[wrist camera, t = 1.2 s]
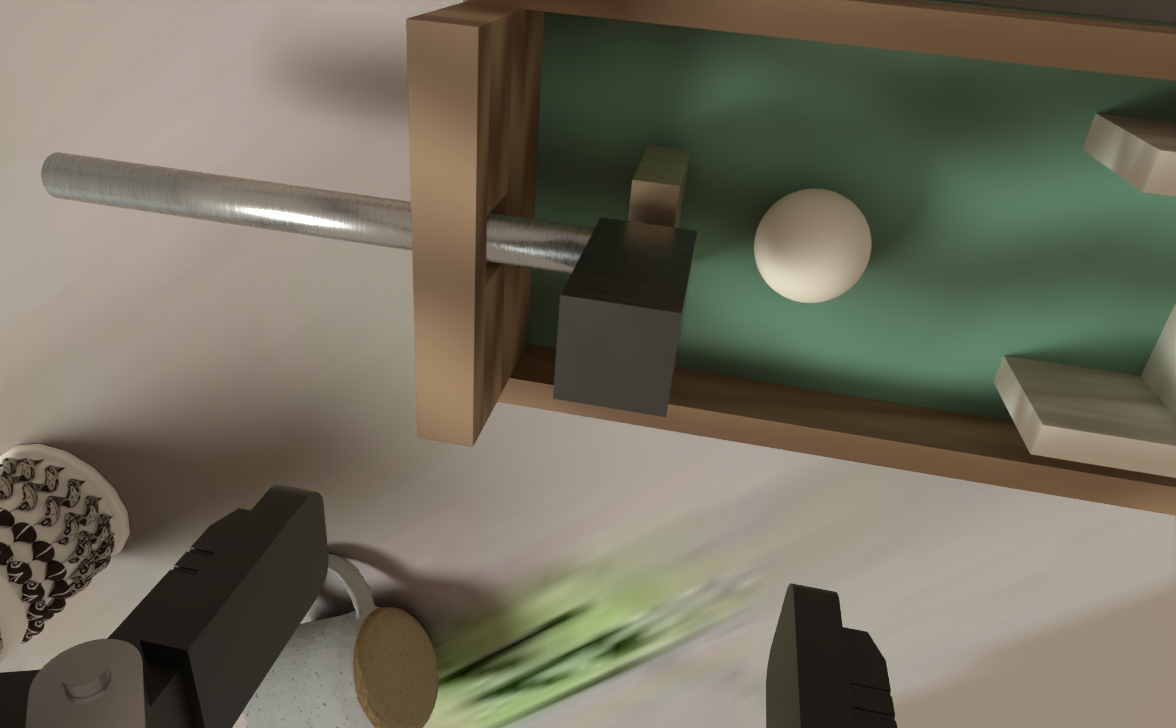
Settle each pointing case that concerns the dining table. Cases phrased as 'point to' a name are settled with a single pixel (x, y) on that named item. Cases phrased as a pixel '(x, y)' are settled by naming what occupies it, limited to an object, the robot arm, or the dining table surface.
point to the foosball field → (858, 172)
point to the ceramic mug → (350, 669)
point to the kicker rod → (591, 255)
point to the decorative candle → (51, 535)
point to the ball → (812, 245)
